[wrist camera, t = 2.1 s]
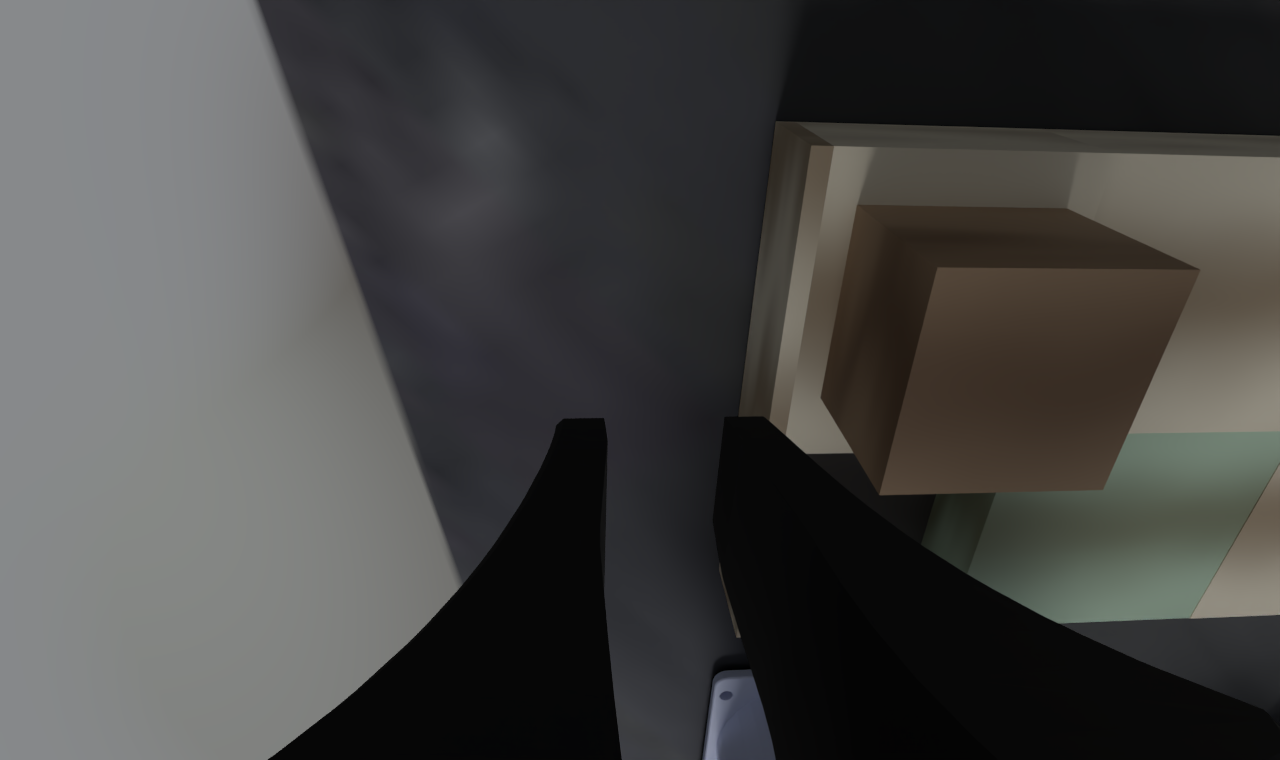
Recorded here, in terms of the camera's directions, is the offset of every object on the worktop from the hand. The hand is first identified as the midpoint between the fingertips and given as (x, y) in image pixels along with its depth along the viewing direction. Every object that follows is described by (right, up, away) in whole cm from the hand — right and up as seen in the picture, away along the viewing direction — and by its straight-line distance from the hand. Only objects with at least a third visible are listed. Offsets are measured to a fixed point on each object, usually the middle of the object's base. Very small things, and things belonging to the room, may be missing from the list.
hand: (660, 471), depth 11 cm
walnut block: (+7, +3, +6) cm, 10 cm away
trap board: (+14, +1, +11) cm, 18 cm away
